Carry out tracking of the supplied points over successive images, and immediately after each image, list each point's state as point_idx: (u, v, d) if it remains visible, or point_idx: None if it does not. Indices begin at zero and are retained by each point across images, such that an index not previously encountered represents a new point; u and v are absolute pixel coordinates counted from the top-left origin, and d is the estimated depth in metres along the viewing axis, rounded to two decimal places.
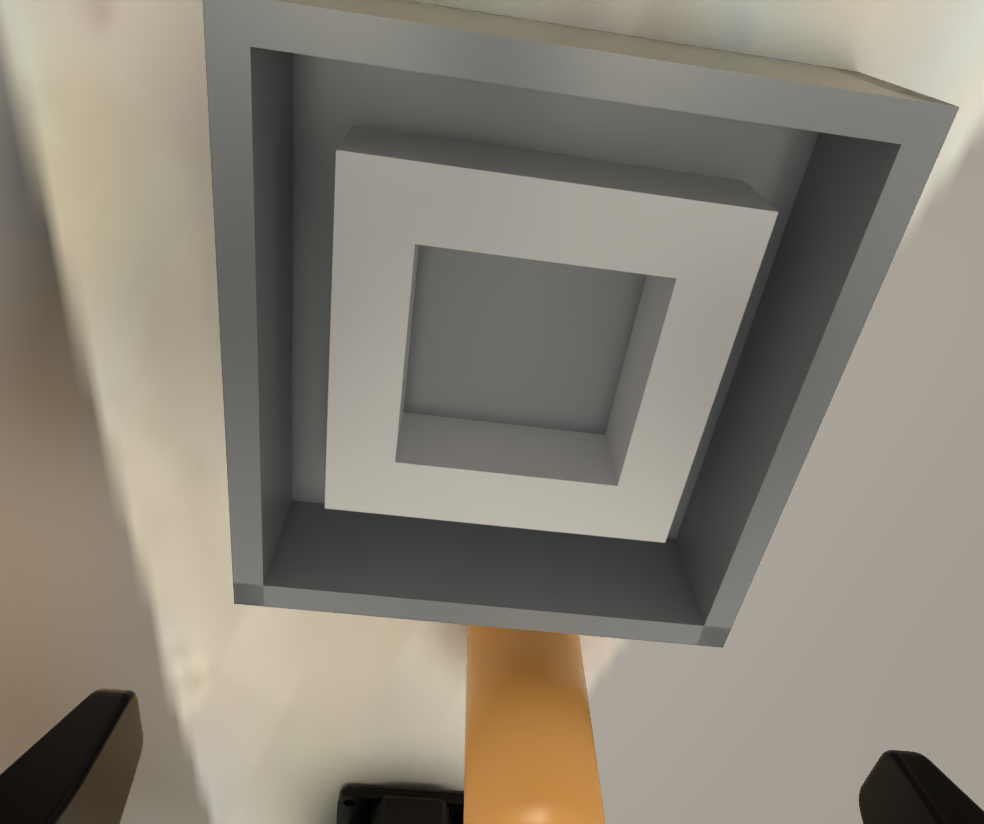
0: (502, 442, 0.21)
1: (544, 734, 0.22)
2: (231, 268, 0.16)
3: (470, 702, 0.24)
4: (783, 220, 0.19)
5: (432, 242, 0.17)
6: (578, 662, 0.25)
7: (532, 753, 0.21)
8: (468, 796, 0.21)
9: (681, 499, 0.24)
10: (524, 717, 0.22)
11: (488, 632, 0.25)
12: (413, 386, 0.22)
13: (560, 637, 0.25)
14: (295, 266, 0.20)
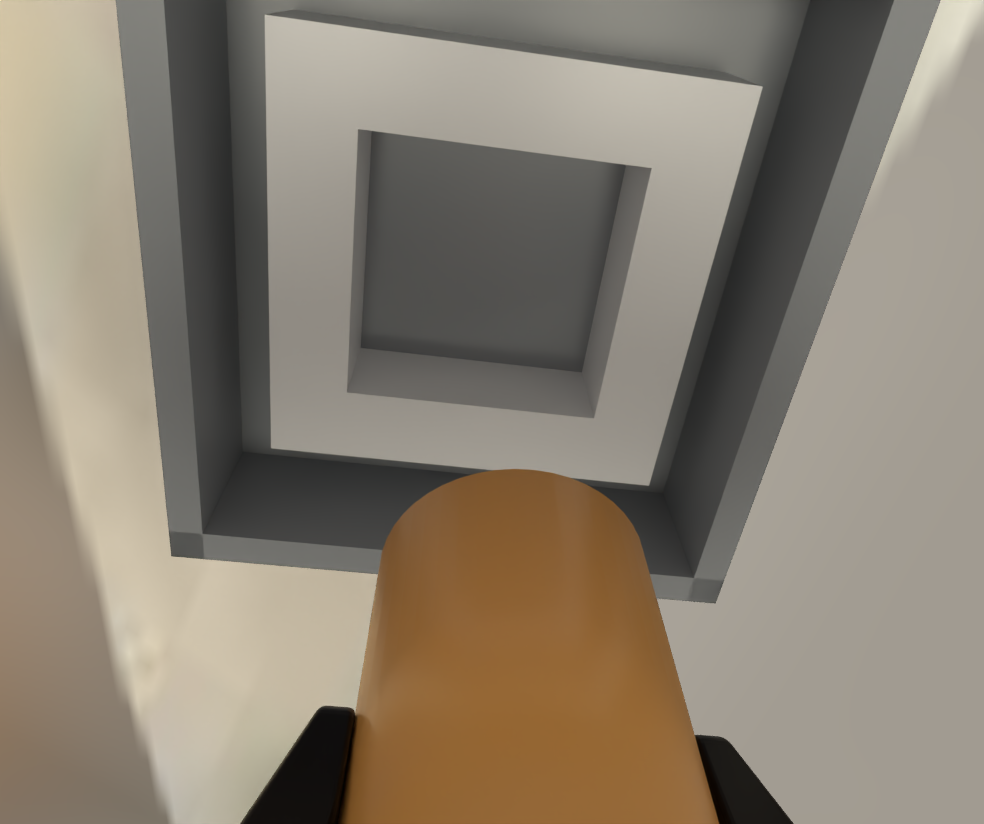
0: (468, 377, 0.20)
1: None
2: (147, 148, 0.14)
3: (344, 806, 0.08)
4: (770, 118, 0.18)
5: (377, 126, 0.15)
6: (673, 676, 0.09)
7: None
8: None
9: (667, 446, 0.22)
10: None
11: (414, 591, 0.09)
12: (370, 317, 0.20)
13: (619, 602, 0.09)
14: (235, 177, 0.18)
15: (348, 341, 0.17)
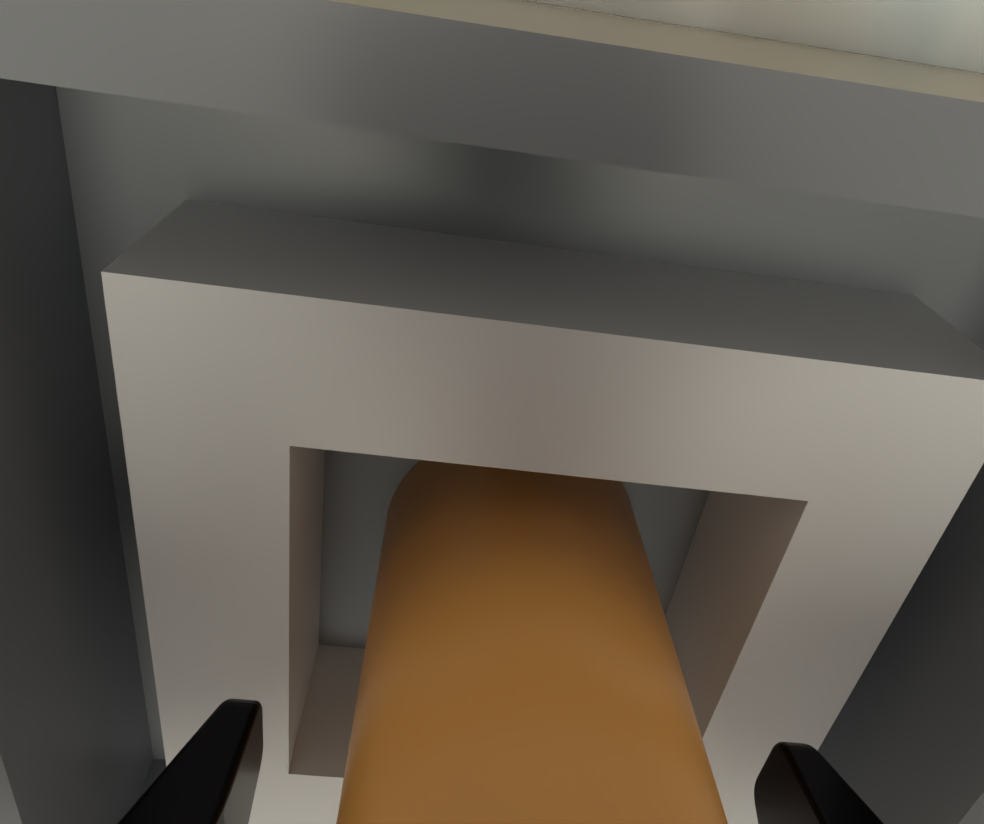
0: None
1: (585, 821, 0.06)
2: None
3: (358, 715, 0.08)
4: None
5: (325, 442, 0.08)
6: (658, 606, 0.09)
7: None
8: None
9: None
10: (511, 758, 0.06)
11: (420, 532, 0.10)
12: (332, 609, 0.13)
13: (609, 539, 0.10)
14: (111, 436, 0.11)
15: (288, 715, 0.11)
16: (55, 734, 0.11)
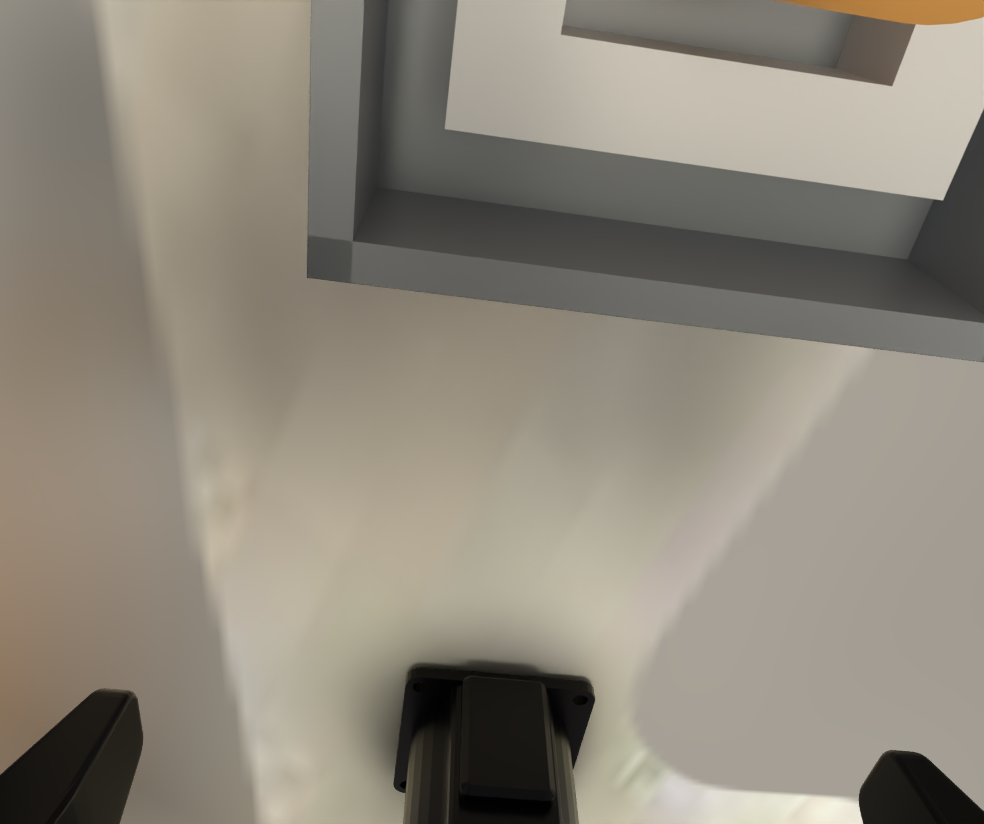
0: (702, 50, 0.14)
1: None
2: None
3: None
4: None
5: None
6: None
7: None
8: None
9: None
10: None
11: None
12: None
13: None
14: None
15: None
16: None
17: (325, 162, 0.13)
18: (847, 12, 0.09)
